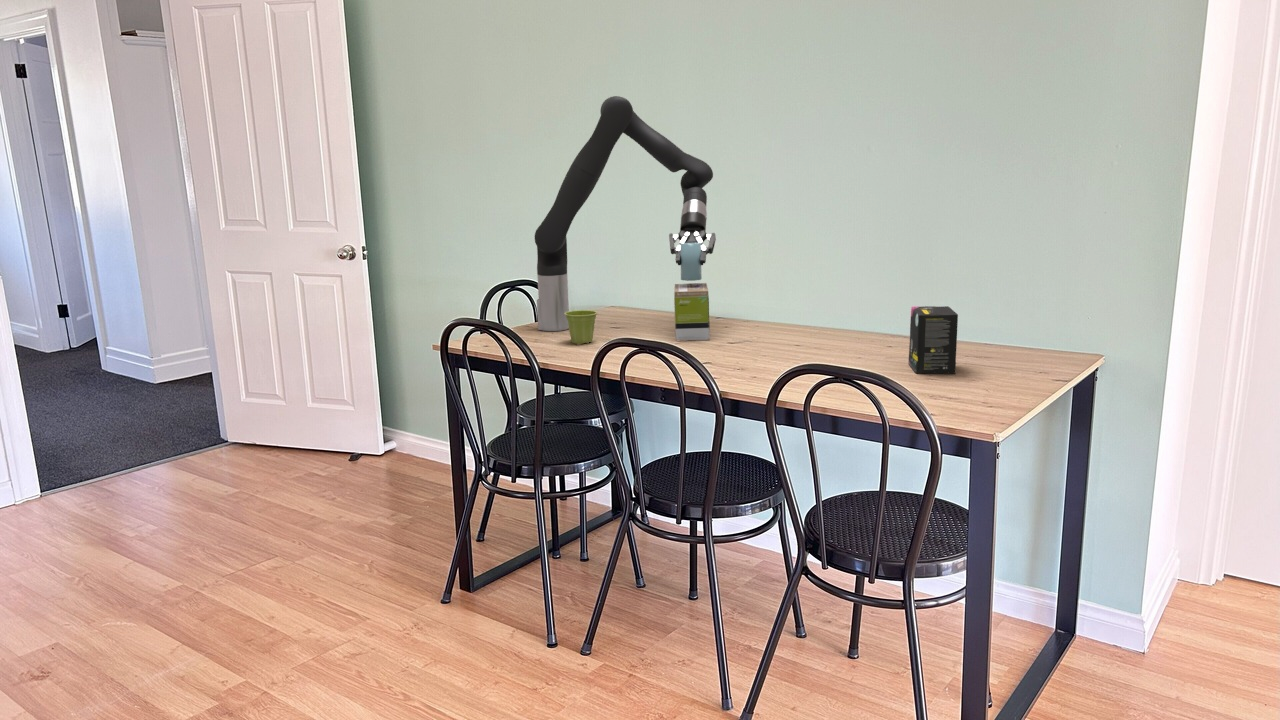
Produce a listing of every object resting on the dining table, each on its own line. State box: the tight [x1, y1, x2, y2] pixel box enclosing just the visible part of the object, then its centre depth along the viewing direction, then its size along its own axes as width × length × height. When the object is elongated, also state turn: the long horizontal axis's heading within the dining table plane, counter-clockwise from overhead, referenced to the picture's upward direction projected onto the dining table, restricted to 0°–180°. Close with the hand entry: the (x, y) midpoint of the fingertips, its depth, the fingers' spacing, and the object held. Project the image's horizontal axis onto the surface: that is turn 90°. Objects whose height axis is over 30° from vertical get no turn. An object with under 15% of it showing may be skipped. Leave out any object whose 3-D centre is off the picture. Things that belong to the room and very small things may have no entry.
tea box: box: [673, 282, 710, 341], centre depth 269 cm, size 15×10×15 cm
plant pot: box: [565, 309, 598, 345], centre depth 265 cm, size 9×9×9 cm
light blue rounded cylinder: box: [679, 242, 702, 282], centre depth 266 cm, size 6×6×10 cm
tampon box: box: [908, 305, 959, 375], centre depth 221 cm, size 11×9×15 cm
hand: (690, 263), depth 264 cm, fingers closed on light blue rounded cylinder, 6 cm apart
